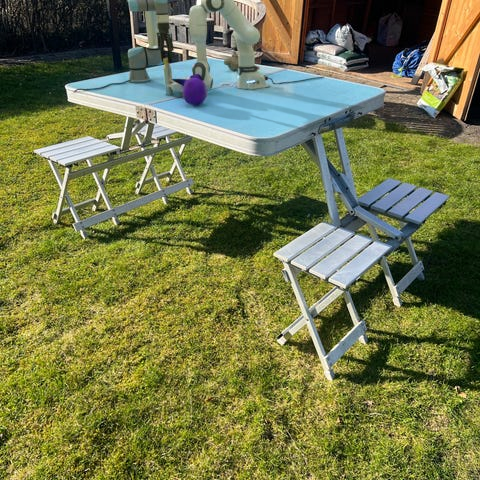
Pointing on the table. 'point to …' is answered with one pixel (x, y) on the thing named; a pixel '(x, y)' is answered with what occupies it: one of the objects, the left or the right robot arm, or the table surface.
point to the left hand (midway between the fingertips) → (166, 61)
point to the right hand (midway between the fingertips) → (167, 84)
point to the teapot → (232, 62)
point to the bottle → (168, 78)
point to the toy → (193, 89)
